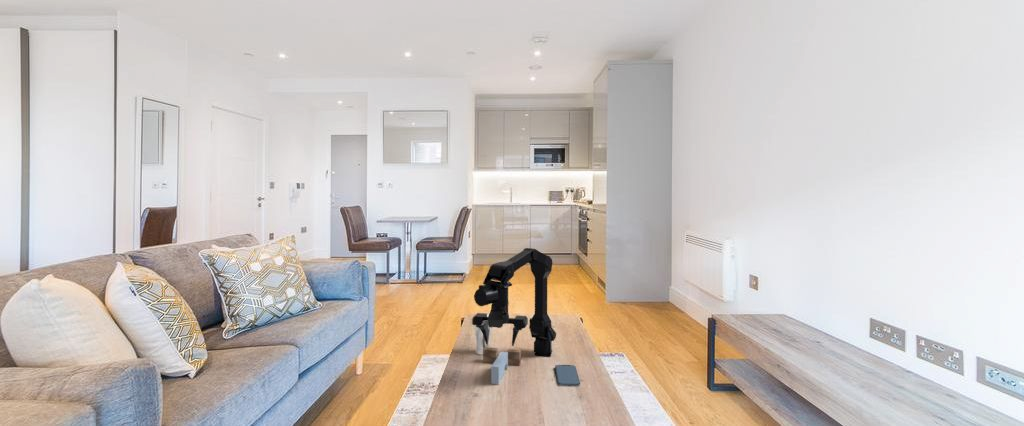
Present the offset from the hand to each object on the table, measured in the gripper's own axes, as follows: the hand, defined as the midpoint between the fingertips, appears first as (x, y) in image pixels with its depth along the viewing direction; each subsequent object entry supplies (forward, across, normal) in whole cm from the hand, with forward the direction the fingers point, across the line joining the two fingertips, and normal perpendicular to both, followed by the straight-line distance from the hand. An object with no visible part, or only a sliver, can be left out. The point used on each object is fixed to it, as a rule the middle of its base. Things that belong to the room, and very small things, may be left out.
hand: (500, 344), depth 148 cm
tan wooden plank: (+11, -2, +11) cm, 16 cm away
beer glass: (+11, -12, +20) cm, 26 cm away
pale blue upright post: (+11, 0, 0) cm, 11 cm away
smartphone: (+12, +23, +4) cm, 26 cm away
